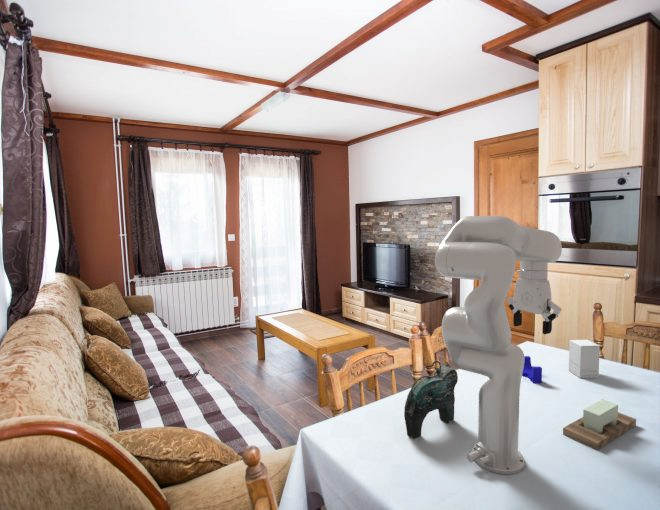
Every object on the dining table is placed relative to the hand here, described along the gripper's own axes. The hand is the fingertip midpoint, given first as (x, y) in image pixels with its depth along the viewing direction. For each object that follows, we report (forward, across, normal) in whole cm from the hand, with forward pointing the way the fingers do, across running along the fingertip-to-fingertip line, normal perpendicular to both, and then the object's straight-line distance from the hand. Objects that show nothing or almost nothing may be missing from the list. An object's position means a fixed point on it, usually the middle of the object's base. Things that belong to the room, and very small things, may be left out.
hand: (531, 329), depth 120 cm
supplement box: (+27, -7, +43) cm, 51 cm away
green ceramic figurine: (+28, -10, -32) cm, 43 cm away
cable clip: (+27, -17, +24) cm, 40 cm away
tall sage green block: (+27, +17, +8) cm, 33 cm away
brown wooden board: (+27, +17, +8) cm, 33 cm away
